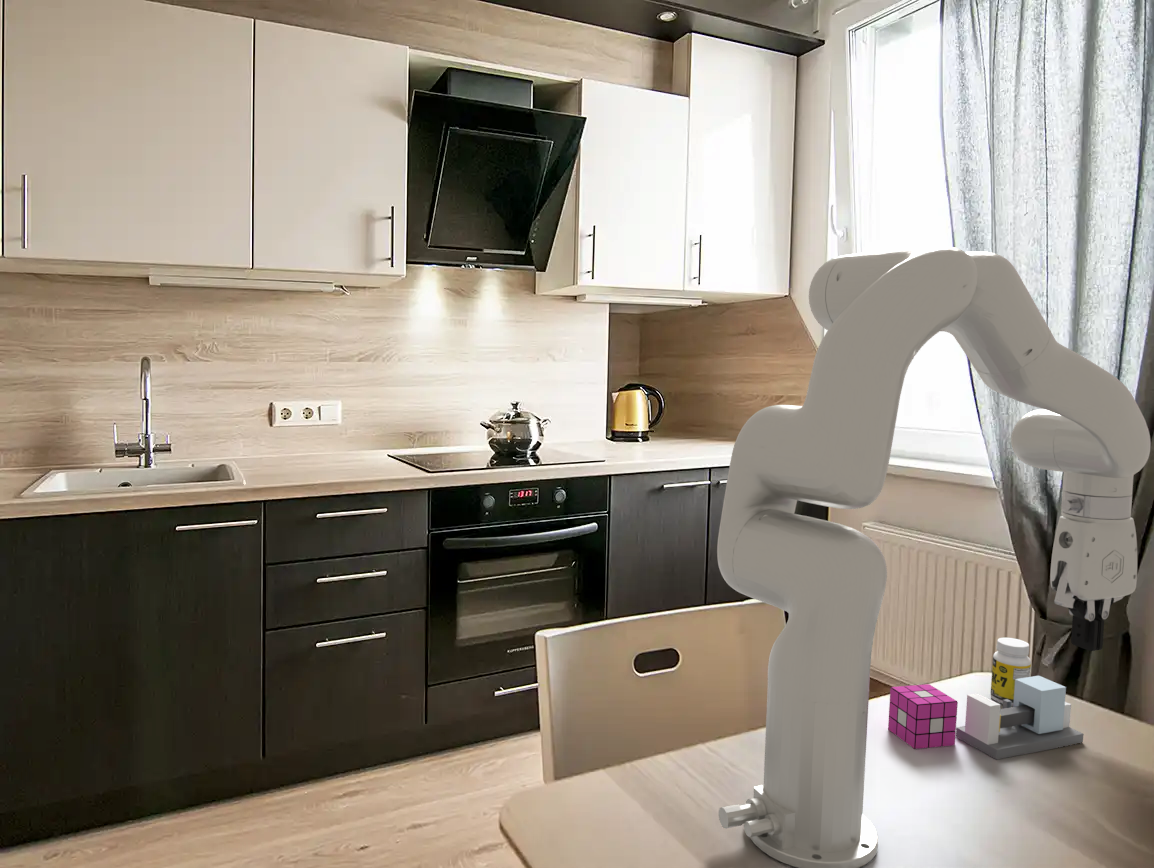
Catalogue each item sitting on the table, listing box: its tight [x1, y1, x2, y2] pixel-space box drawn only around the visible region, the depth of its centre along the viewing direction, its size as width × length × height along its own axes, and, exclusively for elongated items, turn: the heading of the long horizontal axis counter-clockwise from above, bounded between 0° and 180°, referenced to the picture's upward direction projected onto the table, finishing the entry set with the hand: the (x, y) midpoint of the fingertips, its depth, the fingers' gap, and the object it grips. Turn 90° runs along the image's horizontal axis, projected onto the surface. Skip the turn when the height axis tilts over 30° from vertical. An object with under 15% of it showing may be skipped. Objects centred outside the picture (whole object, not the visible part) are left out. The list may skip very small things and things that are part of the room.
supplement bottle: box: [990, 637, 1032, 707], centre depth 120 cm, size 5×5×8 cm
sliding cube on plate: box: [955, 692, 1084, 760], centre depth 108 cm, size 14×6×6 cm, turn 110°
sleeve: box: [1012, 675, 1067, 734], centre depth 108 cm, size 4×4×6 cm
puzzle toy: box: [887, 683, 958, 750], centre depth 108 cm, size 6×6×6 cm
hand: (1086, 646), depth 110 cm, fingers closed
